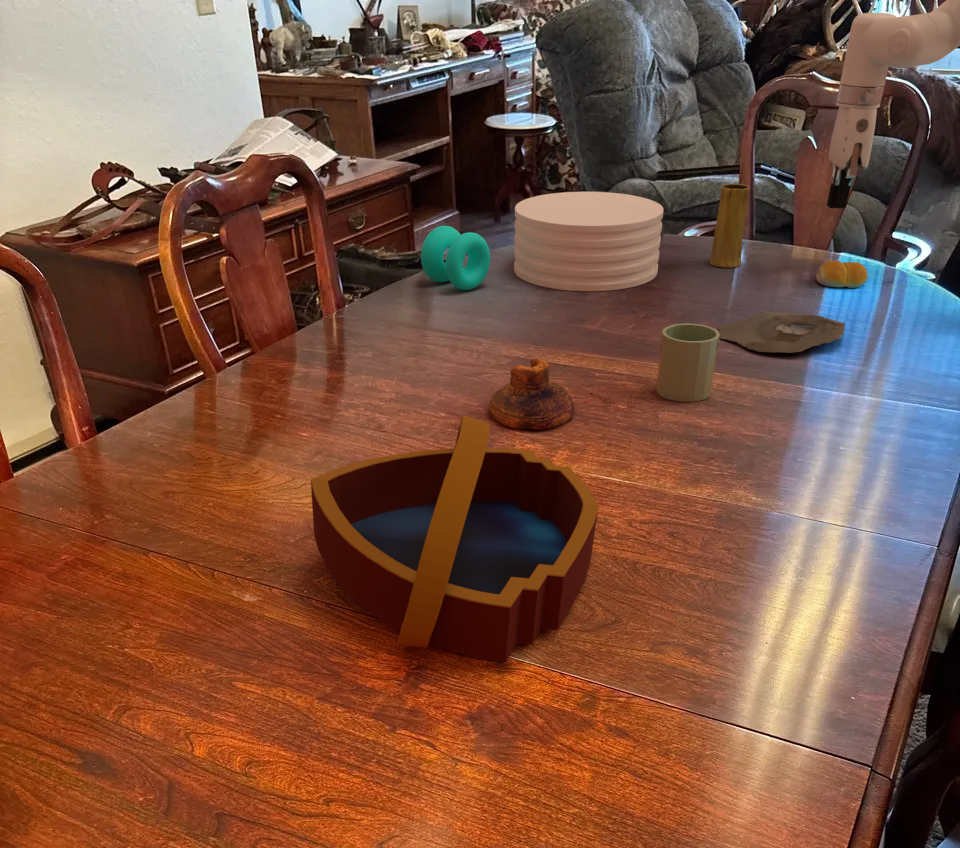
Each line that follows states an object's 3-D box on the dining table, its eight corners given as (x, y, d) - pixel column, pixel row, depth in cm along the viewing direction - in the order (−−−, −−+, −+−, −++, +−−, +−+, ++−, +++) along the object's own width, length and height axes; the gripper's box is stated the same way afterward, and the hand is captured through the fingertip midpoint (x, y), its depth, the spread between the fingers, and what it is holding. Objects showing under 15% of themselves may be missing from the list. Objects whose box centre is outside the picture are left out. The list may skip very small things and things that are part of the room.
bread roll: (870, 289, 175) (875, 266, 173) (821, 288, 176) (825, 266, 174) (859, 276, 182) (863, 254, 180) (811, 276, 183) (815, 254, 180)
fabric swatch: (699, 338, 159) (699, 329, 158) (799, 307, 166) (800, 298, 165) (777, 368, 145) (778, 358, 144) (883, 333, 153) (884, 323, 152)
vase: (733, 270, 186) (745, 191, 178) (704, 265, 189) (714, 187, 181) (745, 262, 190) (756, 185, 182) (716, 258, 193) (726, 181, 185)
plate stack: (486, 276, 184) (486, 212, 178) (560, 244, 203) (563, 186, 196) (614, 300, 171) (619, 233, 165) (681, 264, 190) (688, 202, 183)
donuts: (458, 274, 185) (457, 220, 179) (493, 285, 179) (493, 229, 173) (418, 285, 180) (416, 229, 174) (453, 296, 174) (452, 239, 168)
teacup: (706, 381, 140) (714, 323, 135) (715, 402, 134) (724, 342, 129) (653, 381, 140) (658, 323, 135) (659, 402, 134) (666, 342, 129)
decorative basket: (564, 702, 85) (601, 561, 76) (252, 632, 87) (252, 486, 78) (593, 522, 112) (623, 403, 103) (355, 471, 114) (364, 349, 105)
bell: (512, 438, 125) (513, 384, 121) (475, 405, 134) (474, 354, 129) (590, 422, 129) (593, 370, 124) (549, 391, 137) (551, 341, 133)
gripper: (894, 103, 163) (867, 217, 174) (868, 90, 175) (844, 198, 186) (850, 102, 163) (826, 216, 174) (826, 90, 175) (806, 197, 186)
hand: (836, 207), depth 180 cm, fingers closed
